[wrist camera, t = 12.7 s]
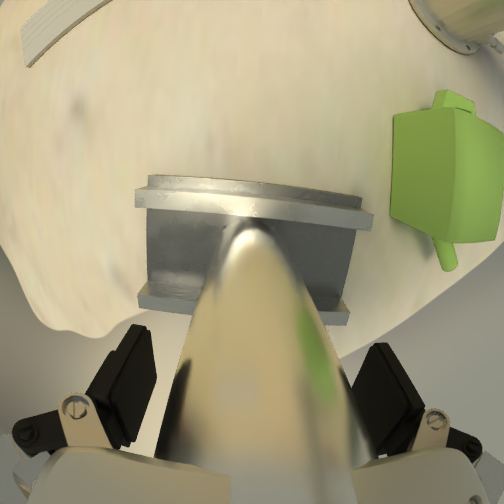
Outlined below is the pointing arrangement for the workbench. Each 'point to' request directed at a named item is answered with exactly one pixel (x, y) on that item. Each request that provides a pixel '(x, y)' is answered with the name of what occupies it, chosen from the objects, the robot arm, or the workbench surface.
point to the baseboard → (53, 24)
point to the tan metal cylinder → (263, 382)
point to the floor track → (235, 207)
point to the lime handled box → (448, 174)
